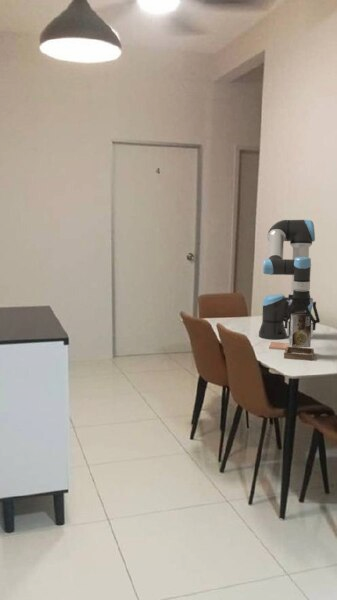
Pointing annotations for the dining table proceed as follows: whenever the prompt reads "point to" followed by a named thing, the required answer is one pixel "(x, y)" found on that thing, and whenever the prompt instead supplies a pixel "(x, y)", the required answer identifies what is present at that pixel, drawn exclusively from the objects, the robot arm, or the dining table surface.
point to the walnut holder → (299, 356)
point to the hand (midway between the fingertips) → (299, 336)
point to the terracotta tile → (279, 345)
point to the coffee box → (300, 329)
